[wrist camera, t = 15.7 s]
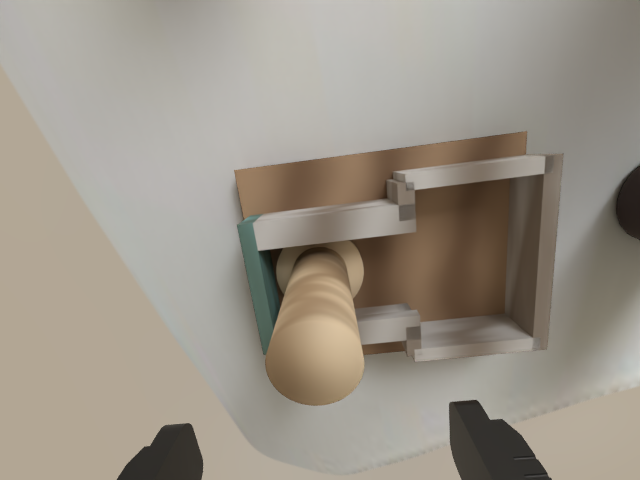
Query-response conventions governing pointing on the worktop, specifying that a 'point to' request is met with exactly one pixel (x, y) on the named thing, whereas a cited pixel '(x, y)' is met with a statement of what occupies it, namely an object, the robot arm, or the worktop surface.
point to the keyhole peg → (317, 324)
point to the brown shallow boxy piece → (418, 241)
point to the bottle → (630, 205)
